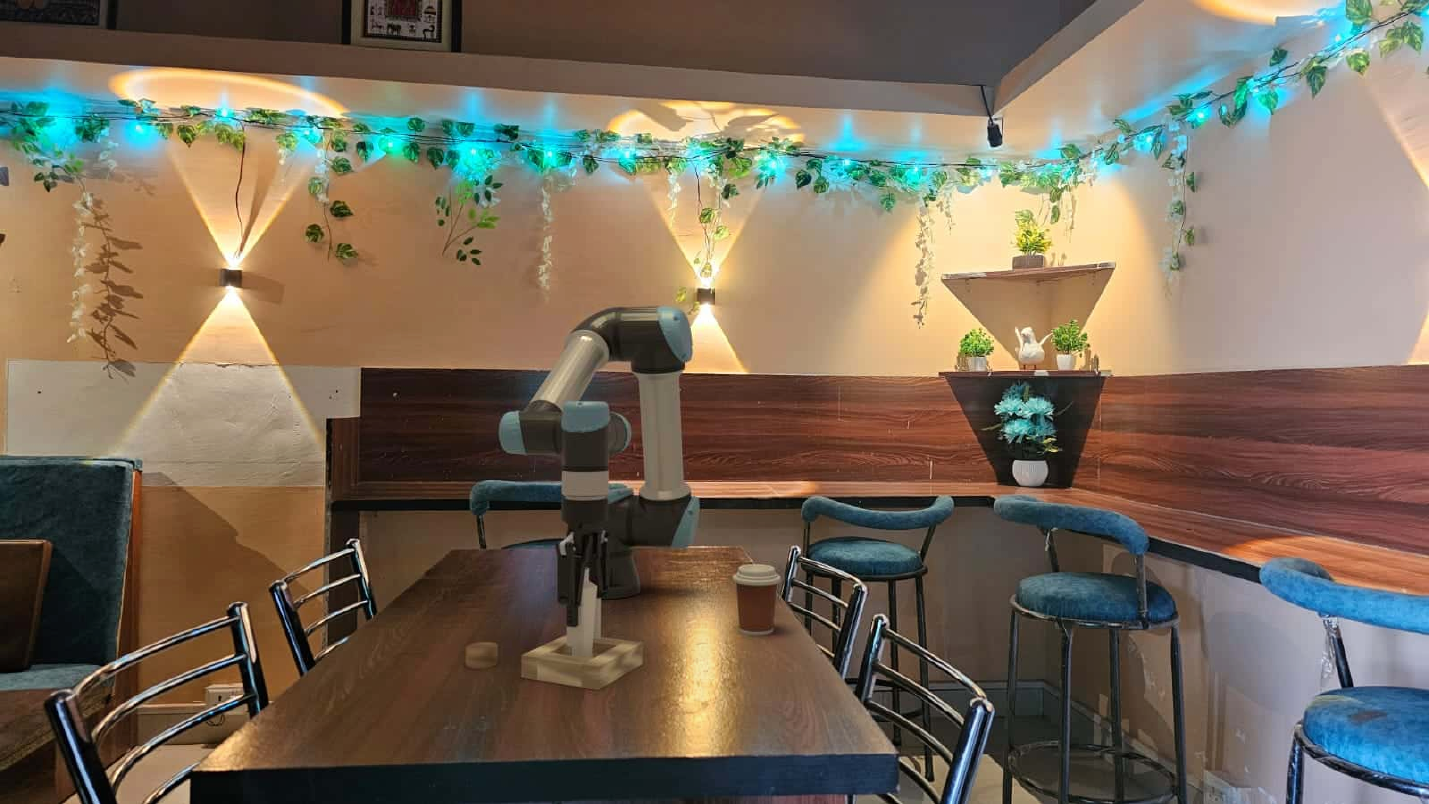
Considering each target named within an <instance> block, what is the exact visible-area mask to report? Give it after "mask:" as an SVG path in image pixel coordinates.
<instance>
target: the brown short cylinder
mask: <svg viewBox="0 0 1429 804" xmlns="http://www.w3.org/2000/svg"><path fill="white" fill-rule="evenodd" d="M498 646H499V645H498V644H497V643H494V642H491V641H490V642H489V641H483V642H482V641H481V642H474V643H470V644H468V645H466V647H465V666H466V668H468V669H471V670H472V669H473V670H482V669H483V670H484V669H489V668H493V667H496V666H497V665H498Z"/></svg>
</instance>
